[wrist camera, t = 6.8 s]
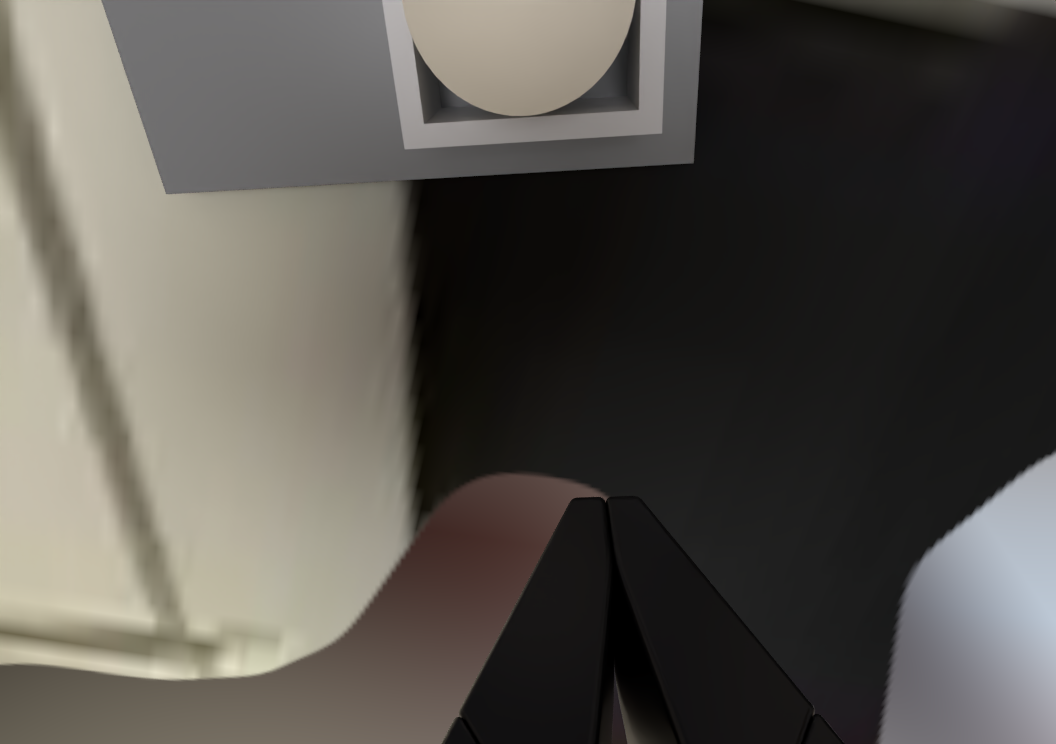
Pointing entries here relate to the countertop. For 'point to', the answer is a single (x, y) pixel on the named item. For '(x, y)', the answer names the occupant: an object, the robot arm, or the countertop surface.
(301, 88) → the panel
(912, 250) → the countertop surface
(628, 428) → the countertop surface
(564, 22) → the cream button
